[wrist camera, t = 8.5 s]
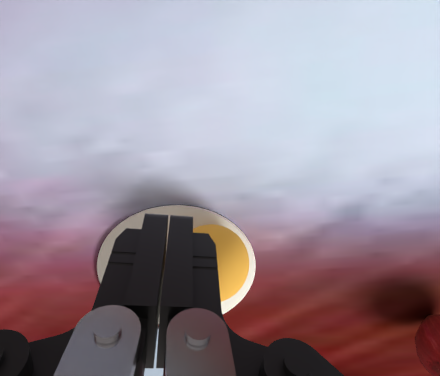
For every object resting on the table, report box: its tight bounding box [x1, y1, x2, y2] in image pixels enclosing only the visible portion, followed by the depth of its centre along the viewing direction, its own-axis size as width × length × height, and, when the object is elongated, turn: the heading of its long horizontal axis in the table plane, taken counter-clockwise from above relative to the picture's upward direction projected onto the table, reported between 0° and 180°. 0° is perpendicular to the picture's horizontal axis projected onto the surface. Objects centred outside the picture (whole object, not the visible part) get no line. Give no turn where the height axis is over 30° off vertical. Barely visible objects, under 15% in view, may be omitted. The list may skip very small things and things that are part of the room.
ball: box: [193, 224, 249, 302], centre depth 23 cm, size 6×6×6 cm
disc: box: [97, 205, 256, 316], centre depth 27 cm, size 13×13×1 cm
